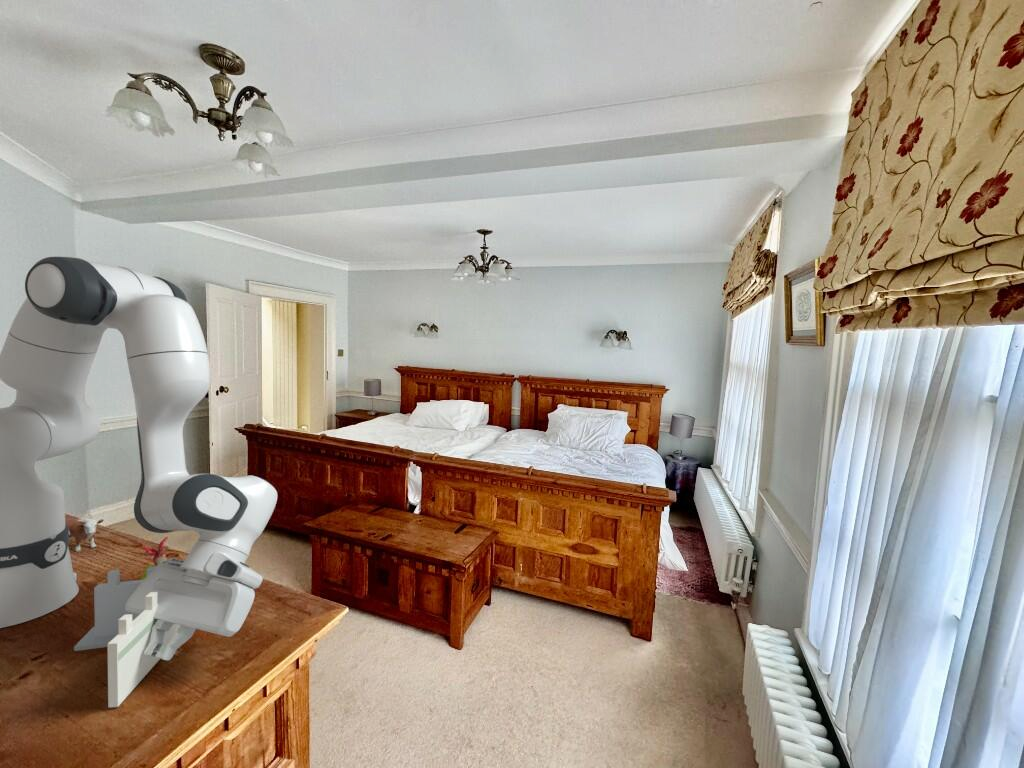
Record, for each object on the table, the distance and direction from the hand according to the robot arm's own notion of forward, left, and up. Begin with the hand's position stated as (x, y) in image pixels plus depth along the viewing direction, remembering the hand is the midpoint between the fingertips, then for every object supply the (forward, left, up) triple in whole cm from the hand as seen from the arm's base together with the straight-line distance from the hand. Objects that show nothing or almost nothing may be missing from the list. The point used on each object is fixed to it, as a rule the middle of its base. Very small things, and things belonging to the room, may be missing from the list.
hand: (156, 657), depth 64 cm
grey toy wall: (-12, +10, -4) cm, 16 cm away
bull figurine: (-47, +38, -5) cm, 61 cm away
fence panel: (-3, +4, -4) cm, 7 cm away
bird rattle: (-17, +24, -5) cm, 30 cm away
